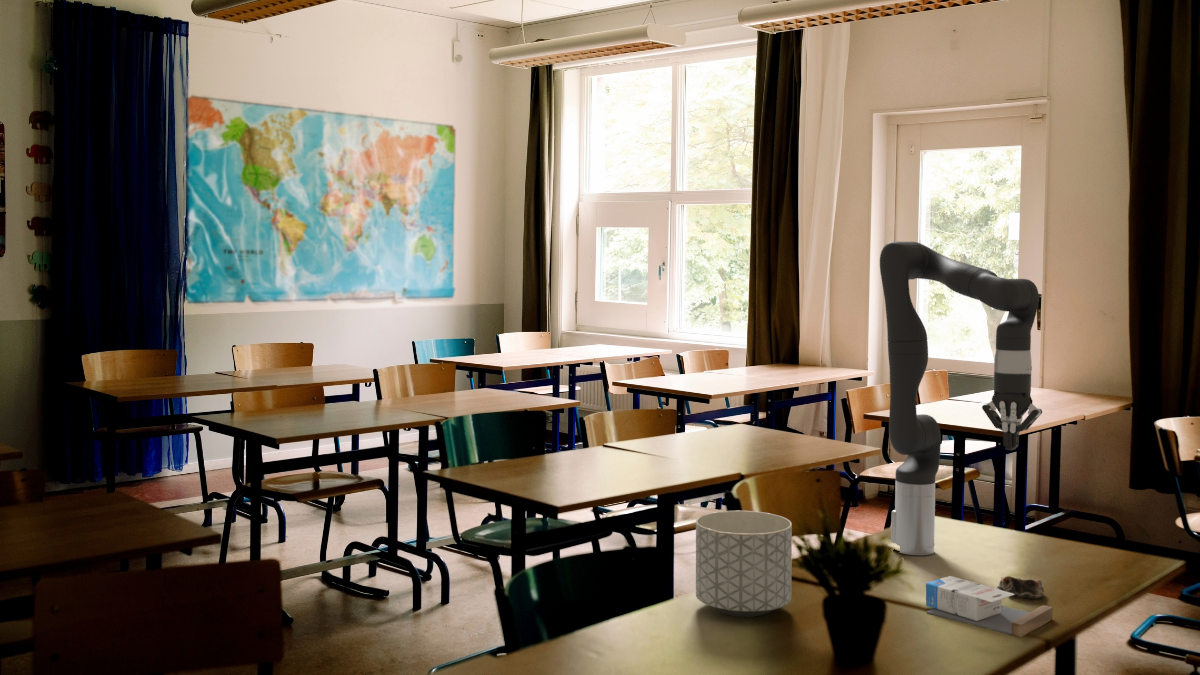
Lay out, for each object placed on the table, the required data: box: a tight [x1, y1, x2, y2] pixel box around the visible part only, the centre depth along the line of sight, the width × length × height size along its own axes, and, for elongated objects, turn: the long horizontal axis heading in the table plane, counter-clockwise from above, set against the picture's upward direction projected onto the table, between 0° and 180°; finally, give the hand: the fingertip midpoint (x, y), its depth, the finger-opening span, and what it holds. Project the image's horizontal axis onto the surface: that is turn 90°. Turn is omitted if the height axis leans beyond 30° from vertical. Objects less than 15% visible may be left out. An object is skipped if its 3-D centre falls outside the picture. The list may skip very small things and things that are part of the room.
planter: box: [695, 510, 793, 618], centre depth 202 cm, size 19×19×18 cm
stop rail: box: [1010, 604, 1054, 638], centre depth 193 cm, size 2×14×2 cm, turn 134°
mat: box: [926, 605, 1031, 636], centre depth 200 cm, size 17×14×1 cm
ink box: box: [925, 575, 1015, 621], centre depth 200 cm, size 8×5×15 cm
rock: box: [997, 575, 1045, 600], centre depth 213 cm, size 9×6×10 cm
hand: (1010, 449), depth 221 cm, fingers closed
